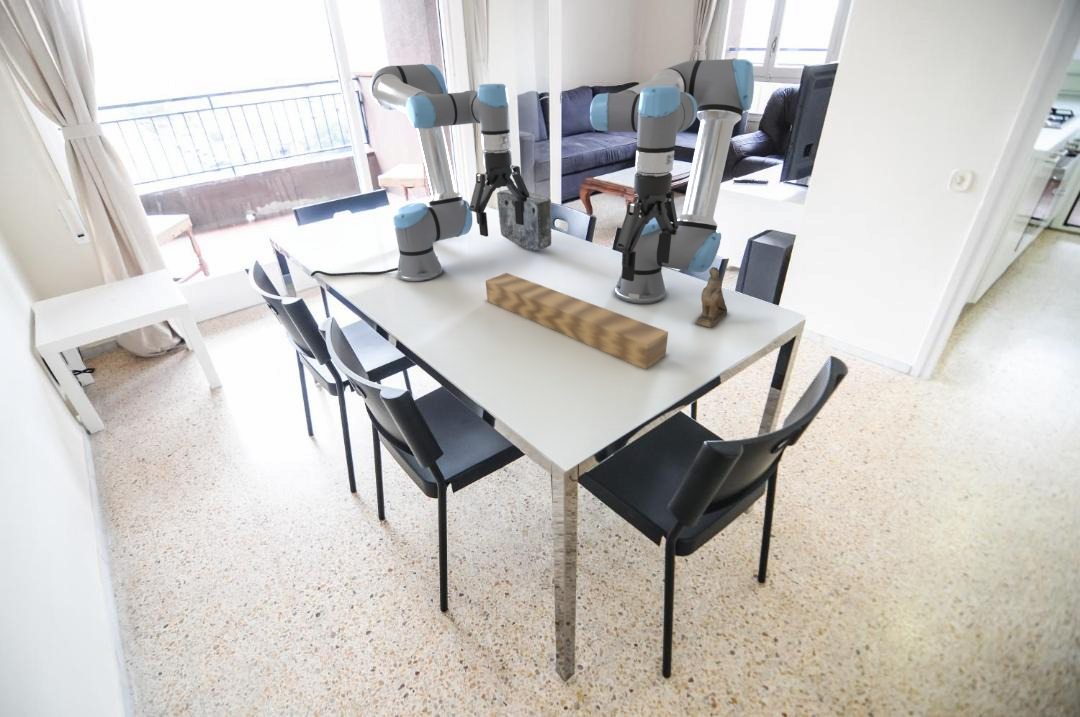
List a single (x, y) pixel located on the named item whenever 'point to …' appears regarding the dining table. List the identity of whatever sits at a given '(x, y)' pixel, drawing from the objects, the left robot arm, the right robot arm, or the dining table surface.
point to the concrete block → (526, 220)
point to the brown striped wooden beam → (580, 320)
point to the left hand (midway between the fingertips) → (502, 229)
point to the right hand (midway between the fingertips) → (645, 270)
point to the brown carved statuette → (712, 301)
